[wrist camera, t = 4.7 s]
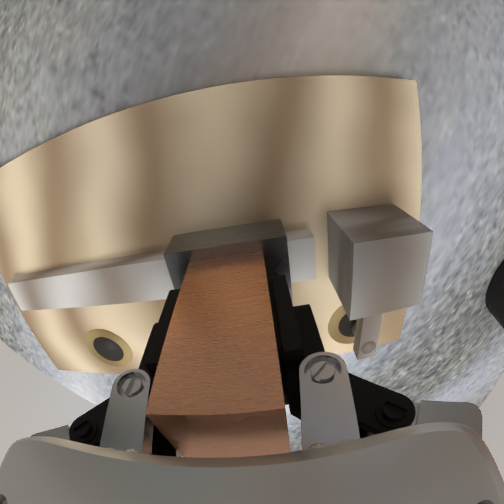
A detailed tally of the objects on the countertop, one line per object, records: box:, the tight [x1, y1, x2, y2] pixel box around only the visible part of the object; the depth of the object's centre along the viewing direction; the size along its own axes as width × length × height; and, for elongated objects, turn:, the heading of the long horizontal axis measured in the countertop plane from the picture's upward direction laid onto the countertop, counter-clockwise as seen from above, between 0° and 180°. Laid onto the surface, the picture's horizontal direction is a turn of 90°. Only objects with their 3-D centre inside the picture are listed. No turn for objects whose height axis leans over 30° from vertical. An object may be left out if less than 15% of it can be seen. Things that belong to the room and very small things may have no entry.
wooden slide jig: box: [0, 75, 433, 374], centre depth 14 cm, size 30×18×6 cm, turn 98°
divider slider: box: [145, 219, 293, 458], centre depth 11 cm, size 5×10×10 cm, turn 8°
